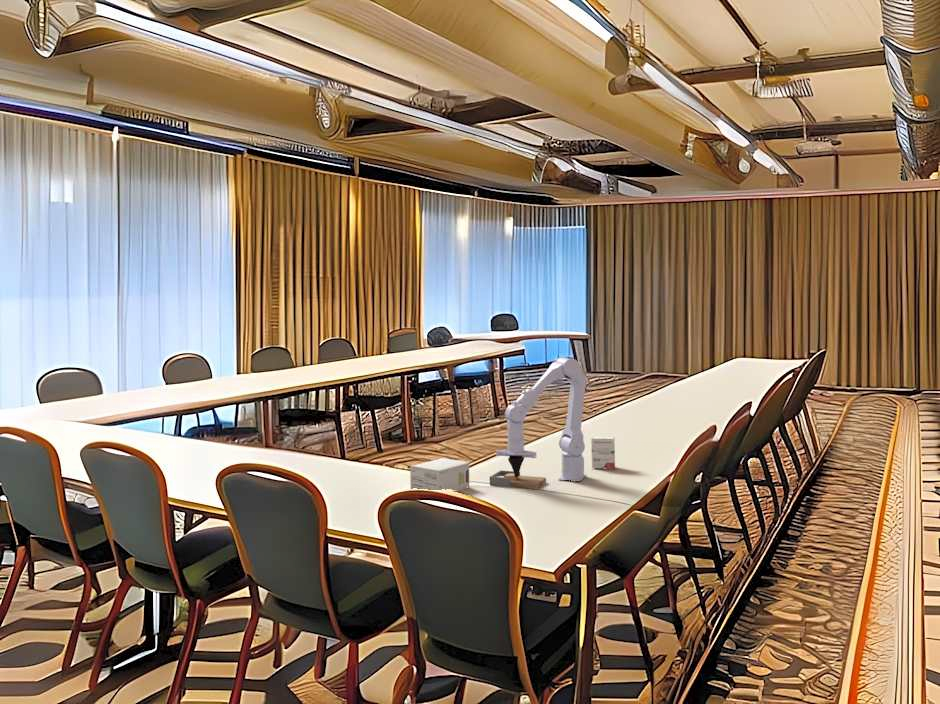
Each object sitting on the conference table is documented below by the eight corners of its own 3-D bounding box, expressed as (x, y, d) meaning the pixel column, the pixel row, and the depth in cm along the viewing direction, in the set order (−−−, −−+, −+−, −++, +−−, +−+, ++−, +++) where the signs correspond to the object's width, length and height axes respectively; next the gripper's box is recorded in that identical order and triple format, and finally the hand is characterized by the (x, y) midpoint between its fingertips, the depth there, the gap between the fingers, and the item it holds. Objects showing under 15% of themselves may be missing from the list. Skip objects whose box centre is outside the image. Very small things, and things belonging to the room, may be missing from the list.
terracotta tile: (508, 478, 306) (507, 473, 306) (518, 477, 304) (518, 473, 304) (504, 480, 302) (503, 476, 302) (514, 480, 300) (514, 475, 300)
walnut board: (519, 480, 308) (519, 475, 308) (546, 482, 304) (545, 477, 303) (509, 486, 299) (509, 481, 298) (536, 489, 295) (536, 484, 294)
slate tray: (500, 478, 311) (500, 470, 311) (520, 480, 308) (520, 471, 308) (489, 485, 302) (489, 476, 301) (509, 486, 299) (509, 478, 298)
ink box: (615, 467, 327) (615, 436, 326) (614, 469, 322) (614, 439, 321) (592, 466, 329) (592, 436, 328) (591, 469, 324) (591, 438, 323)
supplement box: (438, 498, 286) (438, 470, 285) (410, 492, 294) (409, 465, 294) (470, 487, 299) (470, 461, 298) (442, 482, 307) (441, 457, 307)
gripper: (492, 439, 300) (493, 477, 301) (531, 442, 294) (532, 480, 296) (499, 436, 307) (500, 473, 308) (538, 438, 301) (538, 476, 302)
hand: (516, 476), depth 302 cm, fingers closed, pressing on terracotta tile
